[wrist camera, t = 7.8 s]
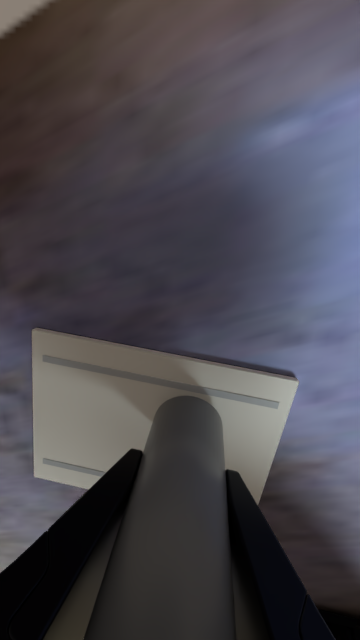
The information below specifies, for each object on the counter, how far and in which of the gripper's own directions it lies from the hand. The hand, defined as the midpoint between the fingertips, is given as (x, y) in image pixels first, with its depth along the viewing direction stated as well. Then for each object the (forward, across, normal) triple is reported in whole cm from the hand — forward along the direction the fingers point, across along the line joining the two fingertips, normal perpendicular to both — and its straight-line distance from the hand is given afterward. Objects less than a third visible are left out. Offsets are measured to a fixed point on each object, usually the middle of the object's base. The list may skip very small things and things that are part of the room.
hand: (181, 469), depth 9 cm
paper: (+3, +2, +1) cm, 4 cm away
